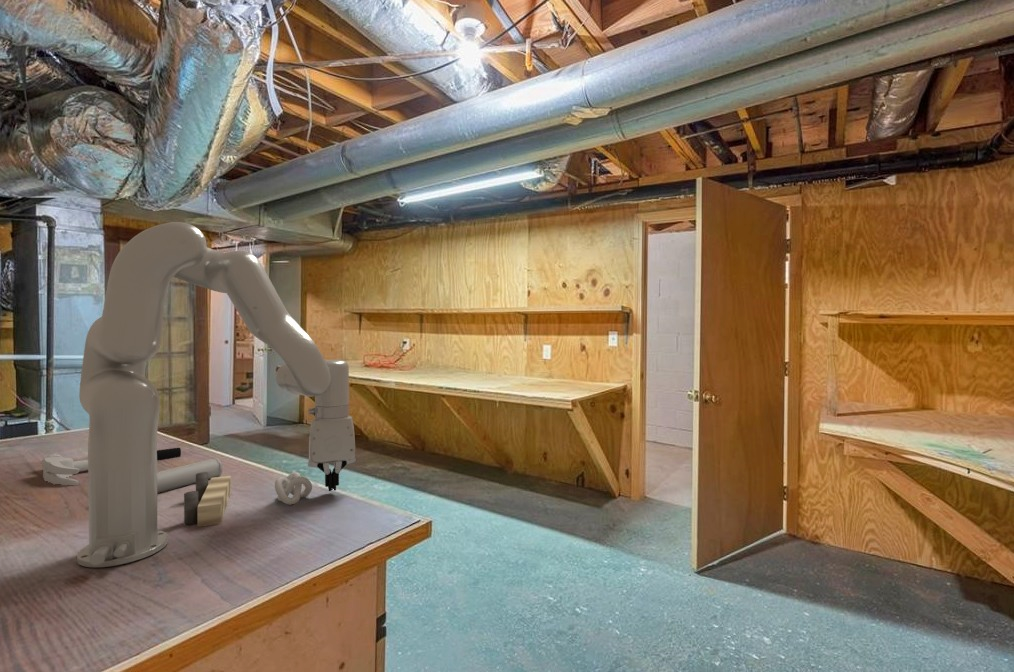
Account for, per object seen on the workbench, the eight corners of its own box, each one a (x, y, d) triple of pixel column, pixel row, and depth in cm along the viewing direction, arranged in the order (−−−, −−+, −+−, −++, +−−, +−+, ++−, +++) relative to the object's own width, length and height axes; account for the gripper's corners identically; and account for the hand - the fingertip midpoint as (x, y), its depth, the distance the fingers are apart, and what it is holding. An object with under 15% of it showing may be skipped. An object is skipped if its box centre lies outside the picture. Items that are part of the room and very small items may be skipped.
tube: (110, 492, 105) (224, 462, 127) (99, 480, 107) (212, 453, 129) (107, 513, 106) (220, 480, 128) (95, 501, 108) (209, 471, 130)
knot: (266, 500, 111) (266, 475, 111) (301, 492, 117) (301, 468, 117) (279, 509, 106) (279, 482, 106) (315, 500, 112) (315, 474, 112)
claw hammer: (170, 438, 154) (39, 453, 131) (194, 451, 139) (51, 469, 117) (169, 456, 154) (38, 473, 131) (193, 470, 139) (50, 492, 116)
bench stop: (220, 523, 98) (220, 494, 98) (181, 529, 95) (181, 498, 95) (230, 492, 116) (230, 467, 116) (198, 496, 113) (198, 470, 113)
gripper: (298, 417, 108) (298, 498, 109) (366, 412, 115) (366, 489, 115) (297, 411, 115) (297, 488, 116) (362, 407, 121) (362, 480, 122)
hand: (332, 488), depth 115 cm, fingers closed
